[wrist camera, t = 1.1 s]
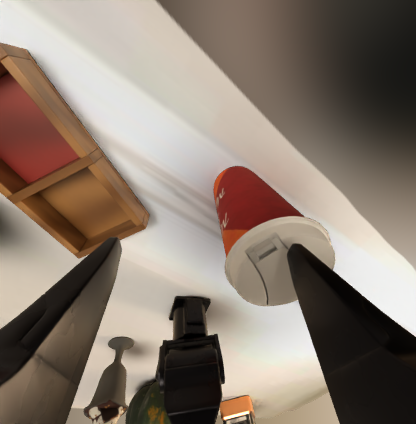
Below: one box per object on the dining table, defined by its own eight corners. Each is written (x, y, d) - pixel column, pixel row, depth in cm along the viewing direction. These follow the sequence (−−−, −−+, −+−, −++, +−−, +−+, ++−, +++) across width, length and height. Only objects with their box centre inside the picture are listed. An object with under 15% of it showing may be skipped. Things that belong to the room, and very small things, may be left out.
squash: (204, 400, 48) (158, 485, 36) (187, 418, 56) (145, 493, 44) (163, 355, 53) (111, 416, 41) (153, 376, 61) (106, 433, 49)
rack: (149, 214, 25) (146, 228, 23) (88, 242, 27) (78, 259, 24) (25, 48, 16) (-3, 41, 13) (-62, 103, 17) (-103, 105, 15)
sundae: (117, 354, 42) (92, 467, 30) (96, 341, 39) (57, 463, 26) (145, 344, 42) (130, 456, 29) (125, 330, 38) (99, 450, 26)
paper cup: (192, 183, 24) (204, 275, 12) (245, 143, 22) (322, 204, 10) (227, 223, 28) (262, 323, 16) (275, 191, 26) (355, 277, 14)
